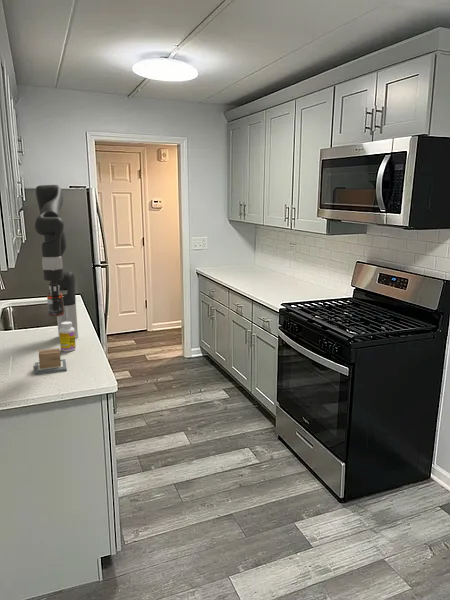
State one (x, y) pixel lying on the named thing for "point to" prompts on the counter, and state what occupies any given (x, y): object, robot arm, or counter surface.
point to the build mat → (51, 369)
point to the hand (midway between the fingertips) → (55, 308)
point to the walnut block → (49, 358)
